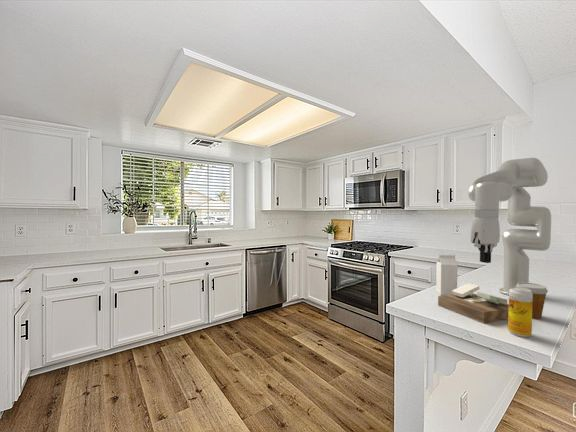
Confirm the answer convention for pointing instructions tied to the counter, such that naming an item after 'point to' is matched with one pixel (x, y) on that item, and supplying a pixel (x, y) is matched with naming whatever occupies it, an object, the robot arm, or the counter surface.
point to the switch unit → (475, 307)
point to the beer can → (520, 311)
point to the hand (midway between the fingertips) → (485, 262)
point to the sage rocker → (492, 298)
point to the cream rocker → (465, 290)
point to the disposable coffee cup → (536, 297)
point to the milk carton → (446, 274)
